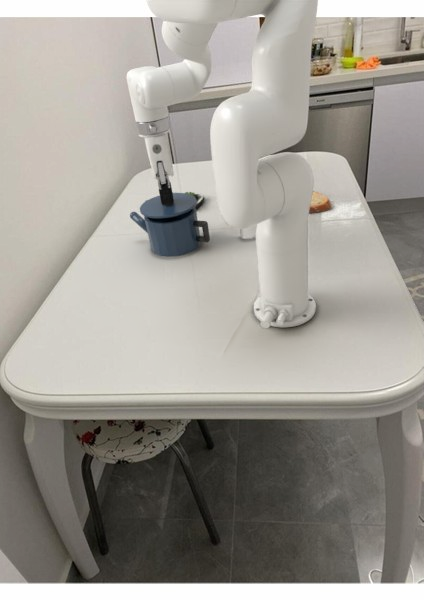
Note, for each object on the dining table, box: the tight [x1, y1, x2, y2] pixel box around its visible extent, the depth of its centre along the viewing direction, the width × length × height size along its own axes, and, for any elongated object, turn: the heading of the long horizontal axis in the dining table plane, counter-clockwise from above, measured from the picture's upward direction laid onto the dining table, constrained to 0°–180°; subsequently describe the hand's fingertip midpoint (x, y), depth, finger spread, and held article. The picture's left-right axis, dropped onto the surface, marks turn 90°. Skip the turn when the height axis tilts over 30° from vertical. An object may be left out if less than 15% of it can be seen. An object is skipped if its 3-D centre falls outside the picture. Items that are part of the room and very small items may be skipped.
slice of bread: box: [309, 190, 333, 214], centre depth 132 cm, size 18×18×4 cm
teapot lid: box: [139, 179, 197, 218], centre depth 112 cm, size 15×15×7 cm
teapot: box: [143, 207, 202, 258], centre depth 117 cm, size 14×14×10 cm
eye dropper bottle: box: [239, 224, 257, 240], centre depth 115 cm, size 4×6×12 cm
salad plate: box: [144, 191, 205, 210], centre depth 142 cm, size 19×18×5 cm
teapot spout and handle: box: [129, 211, 211, 243], centre depth 117 cm, size 2×23×8 cm, turn 67°
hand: (167, 200), depth 112 cm, fingers closed on teapot lid, 3 cm apart
